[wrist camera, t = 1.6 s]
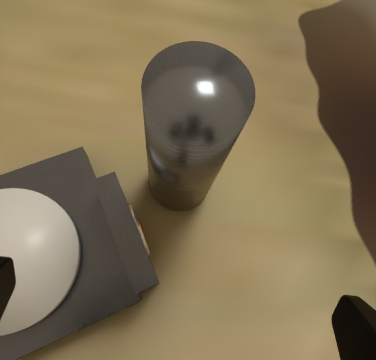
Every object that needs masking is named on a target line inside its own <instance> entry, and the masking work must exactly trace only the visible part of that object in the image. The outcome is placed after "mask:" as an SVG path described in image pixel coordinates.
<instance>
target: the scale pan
mask: <svg viewBox="0 0 376 360" xmlns="http://www.w3.org/2000/svg"><path fill="white" fill-rule="evenodd" d="M0 256H5V257H10V258H12V259H13V262H14V269H15V276H16V285H15V289H14V291H13V293H12V296H11V298H10V300H9V302H8V304H7V307H6V309H5V311H4V313H3V316H2V318H1V320H0V336H3V335H7V334H11V333H15V332H17V331H20V330H23V329H26V328H28V327H30V326H32V325H34V324H36V323H38V322H40V321H41V320H43V319H44V318H46V317H47V316H48V315H49V314H51V313H52V312H53V311H54V310H55V309H56V308H57V307H58V306H59V305H60V304H61V303H62V301H63V300H64V299H65V297H66V296H67V294H68V293H69V291H70V289H71V288H72V286H73V284H74V281H75V279H76V276H77V273H78V270H79V266H80V259H81V246H80V239H79V235H78V231H77V229H76V226H75V224H74V222H73V221H72V219H71V217H70V216H69V215H68V213H67V212H66V211H65V210H64V209H63V208H62V207H61V206H60V205H58V204H57V203H56V202H55V201H53V200H52V199H50V198H49V197H47V196H45V195H43V194H41V193H38V192H35V191H32V190H27V189H19V188H8V189H0Z"/></svg>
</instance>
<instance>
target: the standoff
mask: <svg viewBox="0 0 376 360" xmlns="http://www.w3.org/2000/svg"><path fill="white" fill-rule="evenodd" d="M141 89H142V102H143V114H144V125H145V137H146V149H147V160H148V172H149V183H150V189H151V192H152V194H153V196H154V198H155V199H156V200H157V201H158V203H160V204H161V205H162V206H164V207H166V208H168V209H171V210H175V211H185V210H189V209H192V208H194V207H196V206H197V205H198V204H200V203H201V202H202V201H203V199H204V198H205V196H206V194H207V193H208V191H209V189H210V187H211V185H212V184H213V182H214V180H215V178H216V176H217V174H218V173H219V171H220V169H221V167H222V165H223V163H224V162H225V160H226V158H227V156H228V154H229V153H230V151H231V149H232V147H233V145H234V143H235V142H236V140H237V138H238V136H239V134H240V132H241V131H242V129H243V127H244V125H245V123H246V122H247V120H248V118H249V116H250V114H251V112H252V110H253V107H254V103H255V86H254V82H253V79H252V76H251V74H250V72H249V70H248V69H247V67H246V66H245V65H244V64H243V62H242V61H241V60H240V59H239V58H238V57H237V56H235V55H234V54H233V53H231V52H230V51H228V50H226V49H225V48H222V47H220V46H218V45H215V44H212V43H207V42H200V41H189V42H182V43H178V44H175V45H172V46H169V47H167V48H166V49H164V50H162V51H161V52H159V53H158V54H157V55H156V56H155V57H154V58H153V59H152V60H151V61H150V62H149V64H148V66H147V67H146V69H145V72H144V74H143V78H142V85H141Z"/></svg>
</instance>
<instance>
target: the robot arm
mask: <svg viewBox="0 0 376 360" xmlns="http://www.w3.org/2000/svg"><path fill="white" fill-rule="evenodd" d="M15 285H16V276H15V269H14V262H13V259H12V258H10V257H5V256H0V320H1V318H2V316H3V313H4V311H5V309H6V307H7V304H8V302H9V300H10V298H11V296H12V293H13V291H14V289H15ZM332 326H333V330H334V334H335V338H336V343H337V347H338V351H339V355H340V359H341V360H376V310H375V309H373V308H372V307H371V306H370V305H368V304H367V303H366V302H365V301H364V300H362V299H361V298H360V297H358V296H352V295H343V296H342V297H341V298H340V300H339V302H338V304H337V306H336V308H335V310H334V312H333V314H332Z"/></svg>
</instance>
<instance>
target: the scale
mask: <svg viewBox="0 0 376 360" xmlns="http://www.w3.org/2000/svg"><path fill="white" fill-rule="evenodd" d="M8 188H19V189H27V190H32V191H35V192H38V193H41V194H43V195H45V196H47V197H49V198H50V199H52V200H53V201H55V202H56V203H57V204H58V205H60V206H61V207H62V208H63V209H64V210H65V211H66V212H67V213H68V215H69V216H70V217H71V219H72V221H73V222H74V224H75V226H76V229H77V231H78V235H79V239H80V246H81V259H80V266H79V270H78V273H77V276H76V279H75V281H74V284H73V286H72V288H71V289H70V291H69V293H68V294H67V296H66V297H65V299H64V300H63V301H62V303H61V304H60V305H59V306H58V307H57V308H56V309H55V310H54V311H53V312H52V313H51V314H49V315H48V316H47V317H46V318H44V319H43V320H41V321H40V322H38V323H36V324H34V325H32V326H30V327H28V328H26V329H23V330H20V331H17V332H15V333H11V334H7V335H3V336H0V360H15V359H17V358H19V357H22V356H24V355H26V354H28V353H30V352H32V351H34V350H37V349H39V348H41V347H43V346H45V345H47V344H49V343H52V342H54V341H56V340H58V339H60V338H62V337H65V336H67V335H69V334H71V333H73V332H75V331H77V330H80V329H82V328H84V327H86V326H88V325H90V324H92V323H95V322H97V321H99V320H101V319H103V318H105V317H108V316H110V315H112V314H114V313H116V312H118V311H120V310H123V309H125V308H127V307H129V306H131V305H133V304H135V303H138V302H140V301H141V300H142V299H141V296H140V293H139V292H142V291H144V290H146V289H148V288H150V287H152V286H155V285H157V284H159V282H158V279H157V277H156V274H155V272H154V269H153V267H152V264H151V262H150V259H149V257H148V255H150V254H151V253H150V250H149V248H148V245H147V242H146V240H145V237H144V235H143V230H142V227H141V224H140V222H138V220H137V217H136V215H135V212H134V210H133V208H132V205H131V204H130V205H128V204H127V201H126V199H125V196H124V194H123V191H122V189H121V186H120V184H119V181H118V179H117V176H116V174H115V172H113V173H110V174H107V175H105V176H102V177H99V178H97V179H96V177H95V175H94V172H93V169H92V167H91V164H90V161H89V159H88V156H87V154H86V152H85V150H84V149H83V147H80V148H77V149H74V150H71V151H69V152H66V153H63V154H60V155H57V156H54V157H51V158H48V159H46V160H43V161H40V162H37V163H34V164H31V165H28V166H26V167H23V168H20V169H17V170H14V171H11V172H8V173H5V174H3V175H0V189H8Z"/></svg>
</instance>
